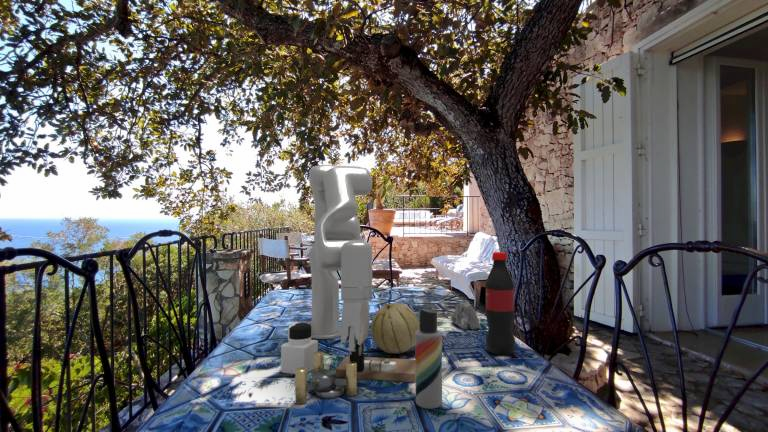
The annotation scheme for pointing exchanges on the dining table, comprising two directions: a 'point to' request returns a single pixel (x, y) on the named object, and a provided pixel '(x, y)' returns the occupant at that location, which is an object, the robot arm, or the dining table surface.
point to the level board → (388, 376)
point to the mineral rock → (465, 316)
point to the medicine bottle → (298, 349)
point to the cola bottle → (500, 307)
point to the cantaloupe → (394, 328)
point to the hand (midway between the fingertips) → (357, 370)
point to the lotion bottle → (428, 361)
